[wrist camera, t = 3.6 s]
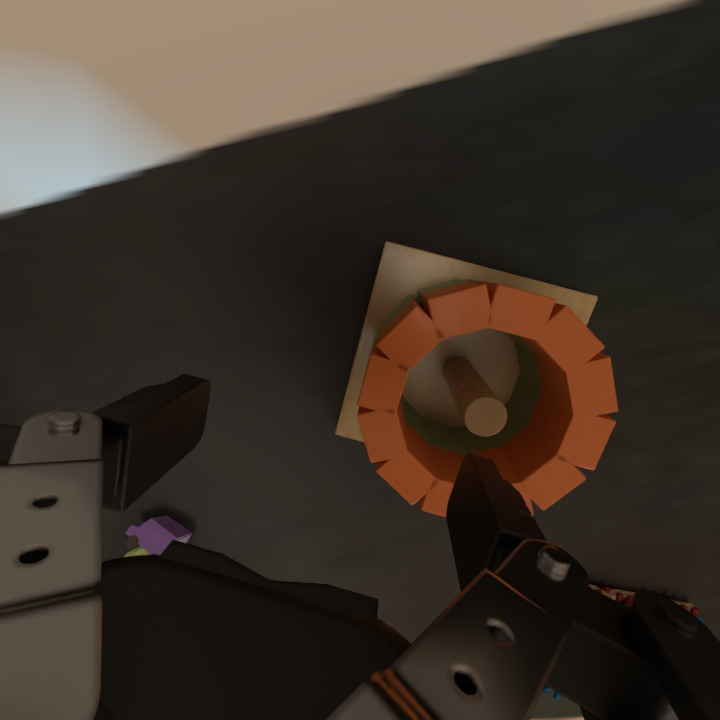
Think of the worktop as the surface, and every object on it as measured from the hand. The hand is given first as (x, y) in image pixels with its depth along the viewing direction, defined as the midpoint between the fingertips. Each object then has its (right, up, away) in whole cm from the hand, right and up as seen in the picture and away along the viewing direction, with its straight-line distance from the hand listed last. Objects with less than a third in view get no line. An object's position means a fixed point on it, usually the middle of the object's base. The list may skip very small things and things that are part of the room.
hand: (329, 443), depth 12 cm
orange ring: (+7, +1, +11) cm, 13 cm away
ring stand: (+8, +2, +16) cm, 18 cm away
